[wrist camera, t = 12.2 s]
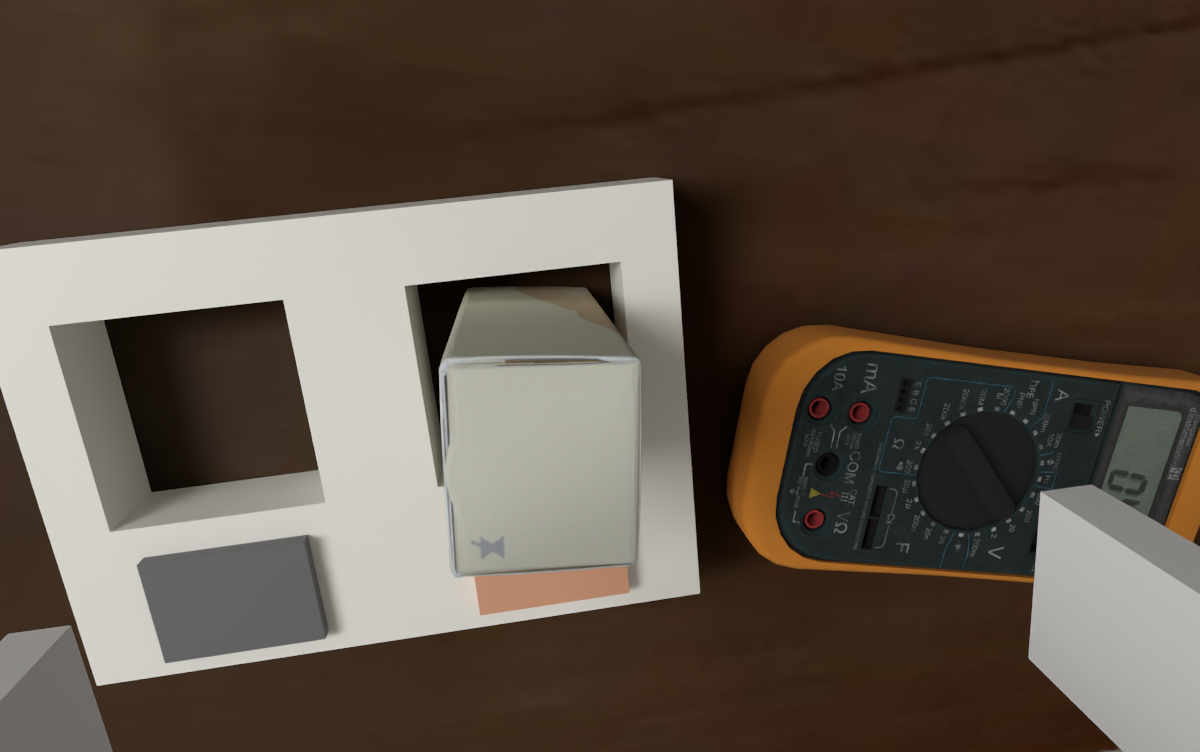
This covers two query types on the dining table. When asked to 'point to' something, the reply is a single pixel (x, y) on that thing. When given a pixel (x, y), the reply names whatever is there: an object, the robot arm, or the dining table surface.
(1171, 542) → the robot arm
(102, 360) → the socket board
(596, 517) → the box
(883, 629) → the dining table surface
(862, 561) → the multimeter
